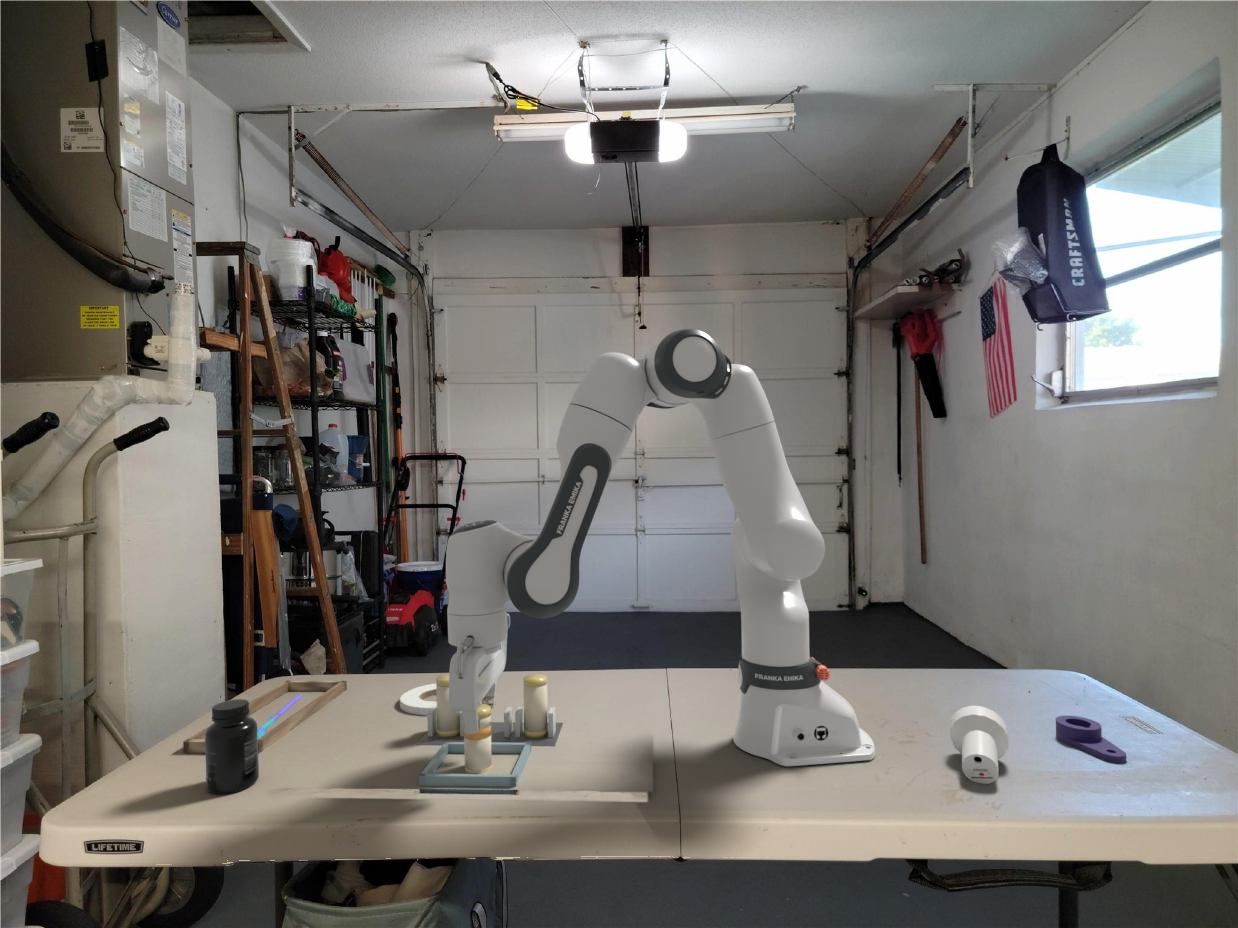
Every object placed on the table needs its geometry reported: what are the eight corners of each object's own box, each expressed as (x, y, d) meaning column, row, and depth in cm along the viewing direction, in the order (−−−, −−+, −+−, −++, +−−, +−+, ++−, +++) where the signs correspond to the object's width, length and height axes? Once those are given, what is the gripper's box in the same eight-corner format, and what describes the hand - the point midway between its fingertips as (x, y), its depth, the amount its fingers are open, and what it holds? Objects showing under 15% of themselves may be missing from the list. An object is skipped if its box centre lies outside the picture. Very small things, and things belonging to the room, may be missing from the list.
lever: (1047, 734, 117) (1046, 716, 117) (1082, 733, 117) (1082, 714, 117) (1101, 765, 105) (1101, 744, 105) (1140, 763, 105) (1140, 743, 105)
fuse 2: (549, 728, 119) (548, 674, 119) (545, 738, 115) (544, 681, 115) (526, 728, 119) (525, 673, 119) (521, 737, 115) (521, 681, 115)
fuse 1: (463, 728, 119) (463, 673, 119) (457, 737, 115) (456, 681, 115) (441, 728, 120) (440, 673, 120) (433, 737, 116) (433, 681, 116)
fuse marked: (494, 765, 106) (493, 703, 106) (488, 777, 102) (487, 713, 102) (468, 764, 106) (468, 703, 106) (461, 776, 102) (460, 713, 102)
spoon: (257, 747, 117) (257, 740, 117) (233, 748, 117) (233, 741, 117) (315, 697, 142) (314, 691, 142) (294, 697, 142) (294, 692, 142)
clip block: (563, 729, 122) (562, 699, 121) (554, 753, 112) (554, 721, 112) (435, 728, 123) (435, 699, 123) (416, 751, 113) (415, 720, 113)
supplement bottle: (247, 770, 107) (246, 693, 107) (266, 782, 103) (265, 702, 103) (198, 786, 102) (197, 705, 102) (216, 800, 97) (215, 715, 97)
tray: (531, 758, 110) (531, 742, 110) (516, 794, 98) (515, 776, 98) (445, 757, 110) (445, 741, 110) (419, 793, 98) (419, 775, 98)
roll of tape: (404, 698, 140) (404, 684, 140) (481, 692, 143) (481, 678, 143) (395, 726, 125) (394, 710, 125) (481, 719, 128) (480, 704, 128)
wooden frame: (346, 689, 145) (346, 680, 145) (259, 753, 113) (259, 742, 113) (287, 688, 146) (286, 680, 146) (183, 752, 114) (183, 741, 114)
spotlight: (1012, 750, 107) (1001, 702, 106) (1018, 796, 97) (1005, 744, 96) (956, 750, 111) (945, 704, 110) (955, 794, 101) (943, 744, 100)
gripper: (481, 646, 93) (484, 747, 94) (512, 613, 114) (515, 696, 114) (435, 647, 94) (439, 748, 94) (474, 614, 114) (477, 696, 114)
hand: (481, 719), depth 104 cm, fingers open, 8 cm apart
